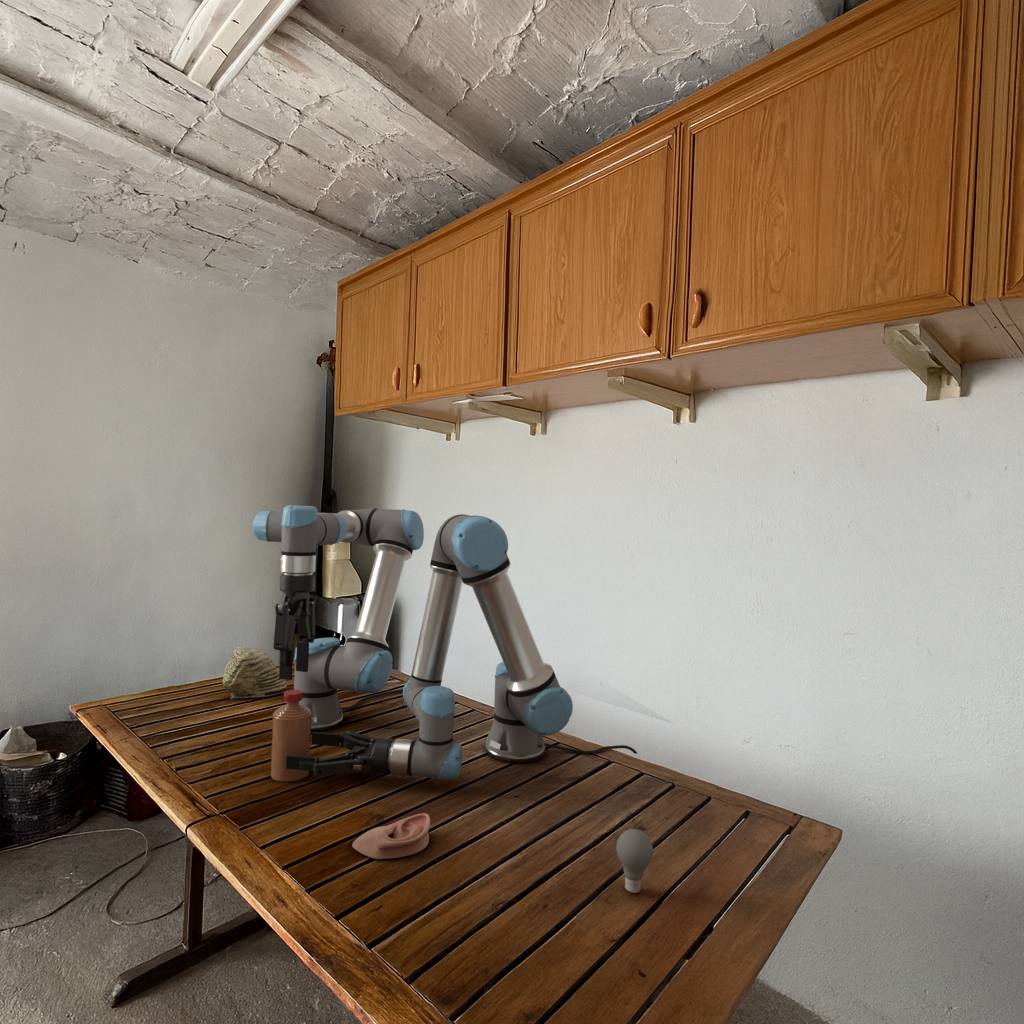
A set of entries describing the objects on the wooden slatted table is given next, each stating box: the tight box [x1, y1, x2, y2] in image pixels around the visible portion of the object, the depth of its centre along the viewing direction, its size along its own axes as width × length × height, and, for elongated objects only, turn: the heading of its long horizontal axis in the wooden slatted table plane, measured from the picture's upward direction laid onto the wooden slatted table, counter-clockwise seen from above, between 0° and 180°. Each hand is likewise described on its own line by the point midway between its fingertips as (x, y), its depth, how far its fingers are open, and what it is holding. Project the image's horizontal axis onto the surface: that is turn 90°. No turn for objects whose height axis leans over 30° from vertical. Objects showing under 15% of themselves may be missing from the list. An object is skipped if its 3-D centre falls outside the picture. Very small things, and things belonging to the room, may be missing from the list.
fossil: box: [222, 646, 288, 699], centre depth 198 cm, size 9×18×15 cm, turn 132°
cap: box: [283, 689, 302, 703], centre depth 144 cm, size 4×4×2 cm
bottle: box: [270, 702, 312, 782], centre depth 144 cm, size 8×8×18 cm
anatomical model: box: [351, 812, 431, 860], centre depth 117 cm, size 13×4×12 cm
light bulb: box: [615, 828, 654, 894], centre depth 106 cm, size 6×6×10 cm
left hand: (293, 674), depth 144 cm, fingers open, 6 cm apart
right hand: (300, 749), depth 143 cm, fingers open, 13 cm apart
